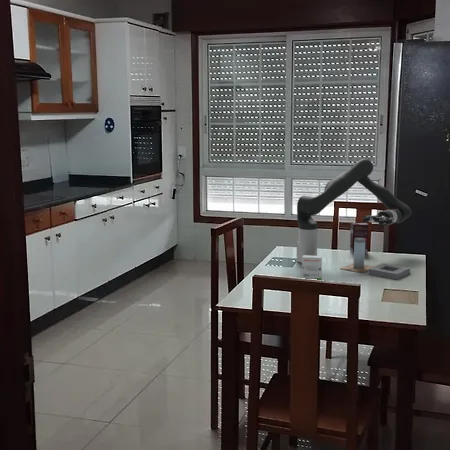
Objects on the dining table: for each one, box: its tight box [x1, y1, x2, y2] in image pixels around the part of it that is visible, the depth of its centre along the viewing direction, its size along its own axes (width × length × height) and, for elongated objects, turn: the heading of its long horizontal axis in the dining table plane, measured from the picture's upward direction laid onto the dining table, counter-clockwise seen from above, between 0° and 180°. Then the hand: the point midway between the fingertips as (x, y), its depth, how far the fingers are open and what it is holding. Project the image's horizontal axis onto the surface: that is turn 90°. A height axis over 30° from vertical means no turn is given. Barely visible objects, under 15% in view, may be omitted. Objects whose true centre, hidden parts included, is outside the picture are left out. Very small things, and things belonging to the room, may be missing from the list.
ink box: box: [301, 255, 323, 281], centre depth 277 cm, size 9×5×12 cm, turn 78°
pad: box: [339, 262, 375, 274], centre depth 301 cm, size 12×14×1 cm
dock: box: [368, 263, 411, 280], centre depth 291 cm, size 14×14×2 cm
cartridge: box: [353, 238, 366, 269], centre depth 300 cm, size 5×5×14 cm
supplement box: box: [349, 222, 370, 255], centre depth 332 cm, size 9×5×16 cm, turn 98°
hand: (371, 221), depth 306 cm, fingers open, 8 cm apart
